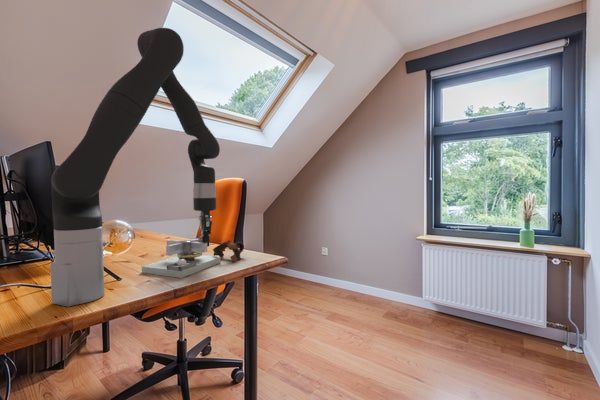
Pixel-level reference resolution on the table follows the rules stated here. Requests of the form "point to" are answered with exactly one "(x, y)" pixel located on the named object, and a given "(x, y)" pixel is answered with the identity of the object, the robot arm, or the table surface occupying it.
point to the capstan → (186, 248)
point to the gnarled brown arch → (231, 246)
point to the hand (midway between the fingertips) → (205, 246)
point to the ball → (181, 262)
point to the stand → (173, 270)
